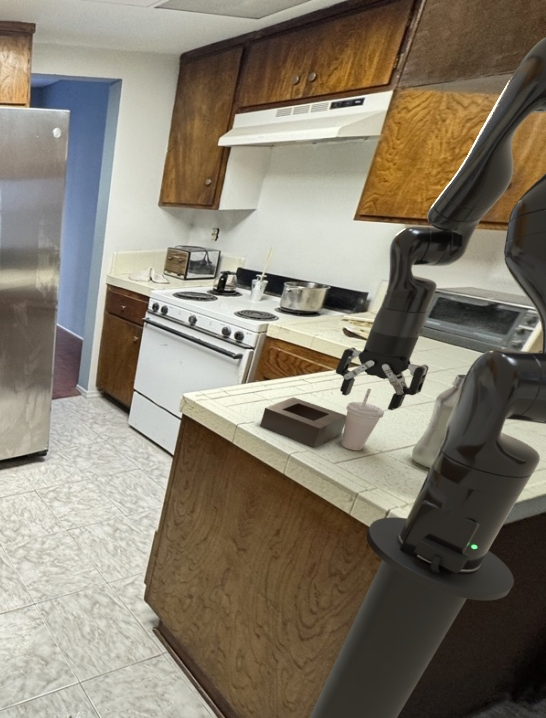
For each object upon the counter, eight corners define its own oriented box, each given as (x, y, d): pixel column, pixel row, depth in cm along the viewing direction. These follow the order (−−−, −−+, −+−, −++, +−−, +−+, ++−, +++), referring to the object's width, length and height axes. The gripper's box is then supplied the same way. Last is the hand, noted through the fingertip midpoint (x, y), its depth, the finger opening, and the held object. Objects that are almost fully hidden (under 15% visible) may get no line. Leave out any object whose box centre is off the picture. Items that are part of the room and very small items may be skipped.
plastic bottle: (445, 461, 100) (486, 375, 92) (453, 477, 95) (498, 387, 86) (405, 453, 103) (442, 369, 95) (411, 468, 98) (451, 380, 90)
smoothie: (336, 436, 110) (356, 381, 105) (371, 445, 106) (393, 389, 101) (331, 446, 106) (351, 390, 101) (367, 456, 102) (390, 398, 96)
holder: (313, 447, 106) (320, 428, 104) (259, 425, 116) (264, 407, 114) (341, 434, 111) (348, 415, 109) (287, 414, 121) (293, 397, 119)
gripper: (345, 324, 99) (322, 393, 106) (432, 342, 88) (400, 418, 95) (363, 319, 102) (339, 386, 109) (449, 336, 91) (416, 410, 98)
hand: (367, 401), depth 102 cm, fingers open, 8 cm apart
